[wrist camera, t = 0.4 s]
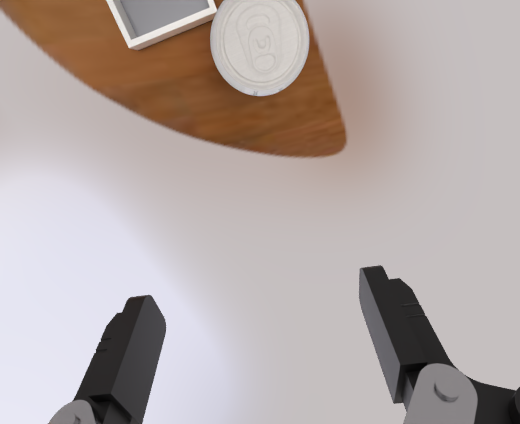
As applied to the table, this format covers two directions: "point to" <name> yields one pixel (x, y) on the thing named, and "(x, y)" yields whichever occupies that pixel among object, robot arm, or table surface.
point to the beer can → (259, 44)
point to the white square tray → (158, 18)
